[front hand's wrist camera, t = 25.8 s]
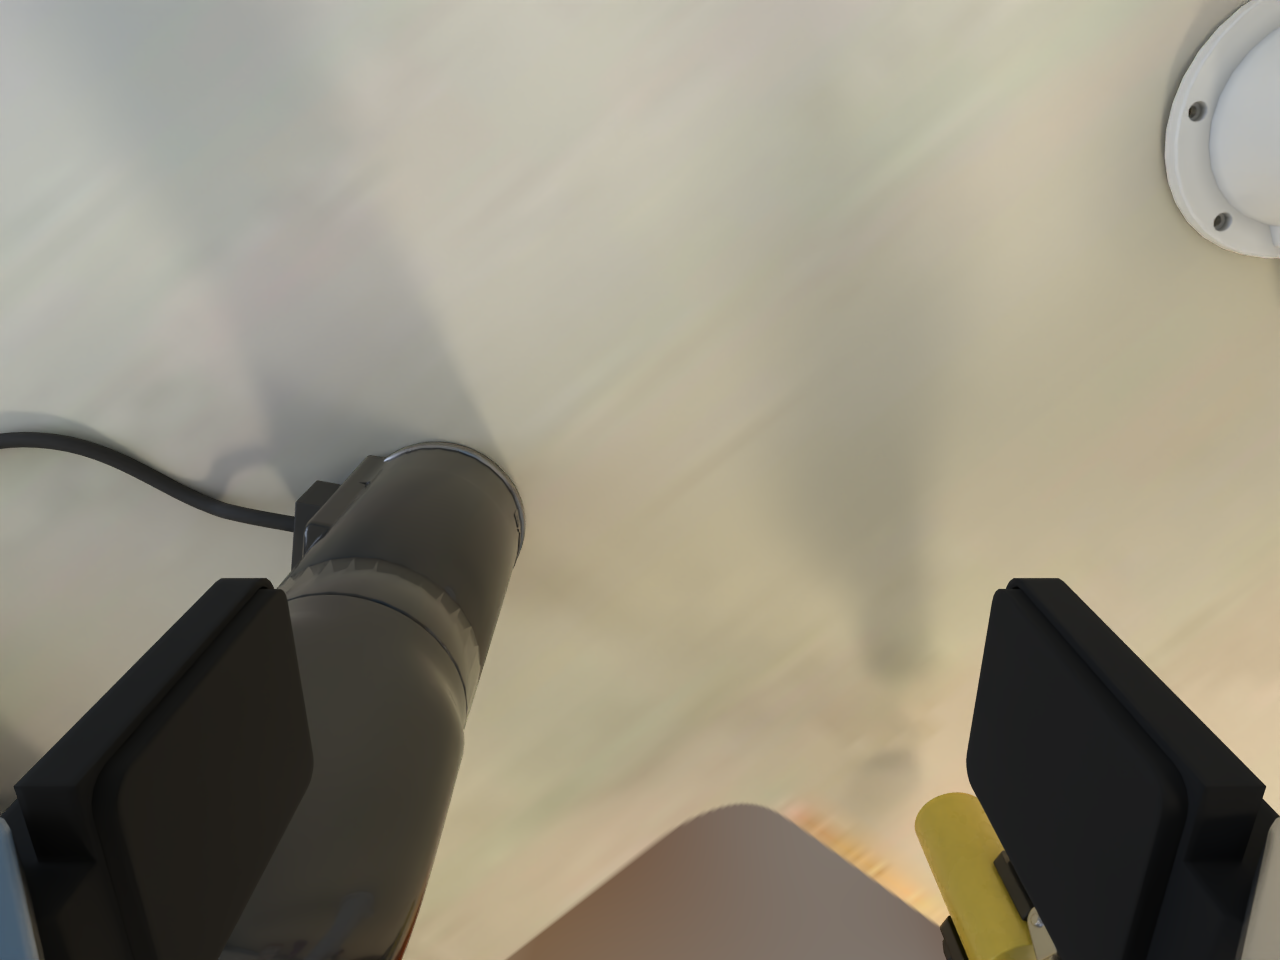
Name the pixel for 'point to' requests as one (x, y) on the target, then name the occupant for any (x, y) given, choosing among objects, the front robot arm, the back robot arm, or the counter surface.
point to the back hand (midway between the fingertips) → (985, 894)
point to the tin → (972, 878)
